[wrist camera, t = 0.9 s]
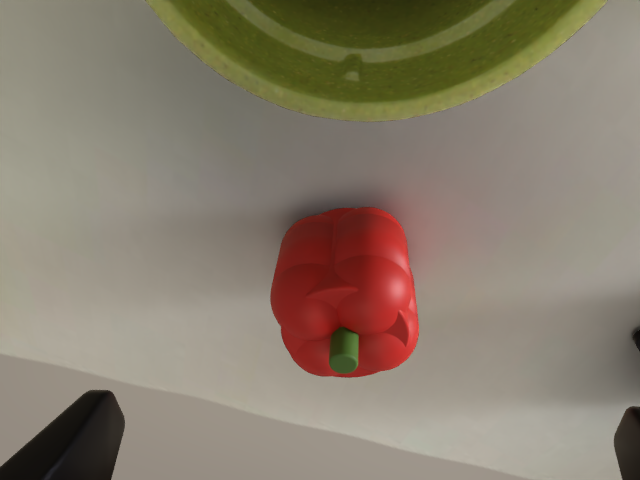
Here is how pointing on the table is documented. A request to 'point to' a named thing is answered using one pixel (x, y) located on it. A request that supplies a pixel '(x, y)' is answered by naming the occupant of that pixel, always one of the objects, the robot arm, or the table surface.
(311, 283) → the pepper
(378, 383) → the table surface
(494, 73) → the plant pot
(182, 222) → the table surface
